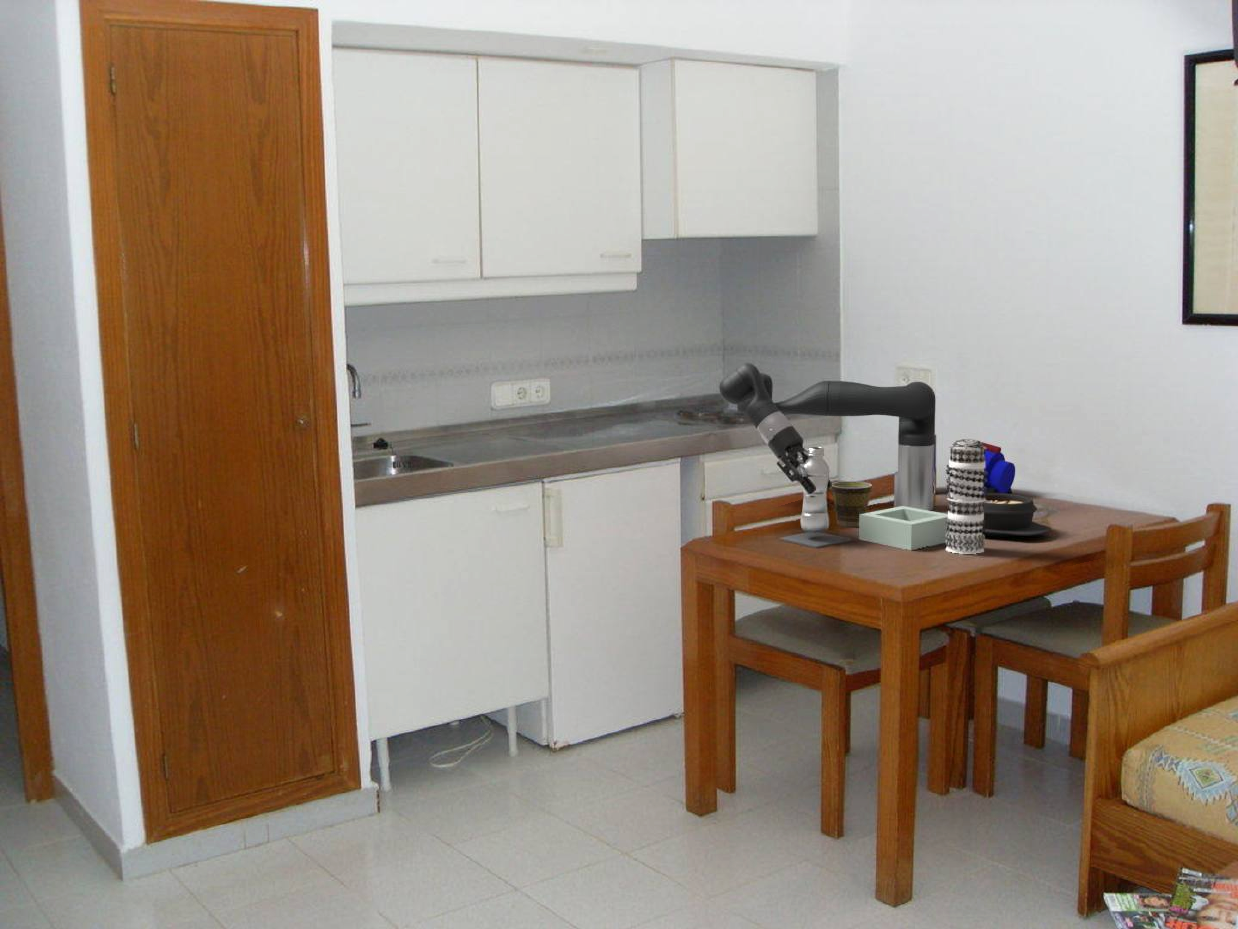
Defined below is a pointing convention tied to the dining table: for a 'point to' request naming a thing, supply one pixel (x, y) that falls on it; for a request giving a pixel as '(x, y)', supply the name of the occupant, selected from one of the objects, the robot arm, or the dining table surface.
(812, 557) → the dining table surface
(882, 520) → the holder block
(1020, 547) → the dining table surface
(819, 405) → the robot arm
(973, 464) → the black and white cylinder
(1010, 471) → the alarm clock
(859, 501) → the ceramic cup
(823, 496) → the plastic bottle
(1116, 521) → the dining table surface
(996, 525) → the casserole
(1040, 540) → the dining table surface
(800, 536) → the rubber mat
